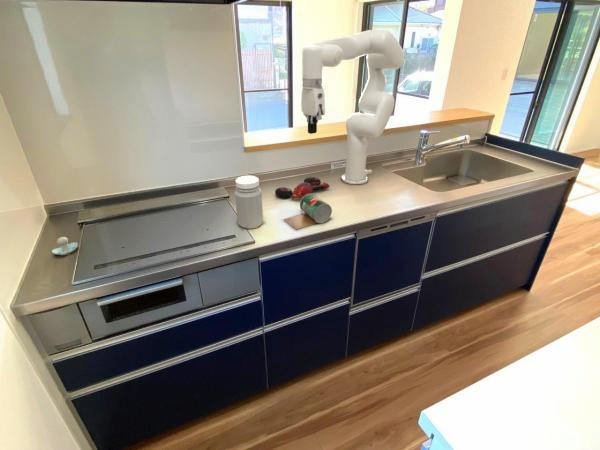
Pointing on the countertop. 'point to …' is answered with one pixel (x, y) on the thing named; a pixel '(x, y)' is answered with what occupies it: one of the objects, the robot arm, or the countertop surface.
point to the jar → (248, 202)
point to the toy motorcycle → (302, 188)
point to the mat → (300, 221)
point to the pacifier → (64, 247)
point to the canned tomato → (315, 208)
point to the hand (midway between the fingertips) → (312, 132)
